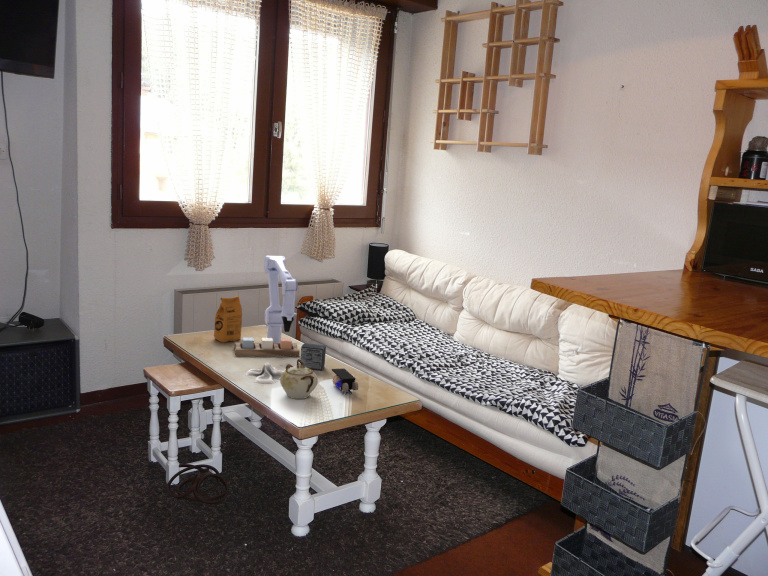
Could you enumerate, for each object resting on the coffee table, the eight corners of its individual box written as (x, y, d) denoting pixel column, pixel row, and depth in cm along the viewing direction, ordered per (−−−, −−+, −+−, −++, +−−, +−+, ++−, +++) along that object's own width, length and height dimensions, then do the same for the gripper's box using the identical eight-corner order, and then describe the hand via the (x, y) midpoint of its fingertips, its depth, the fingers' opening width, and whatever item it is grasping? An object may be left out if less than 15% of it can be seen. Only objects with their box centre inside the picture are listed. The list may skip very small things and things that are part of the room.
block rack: (234, 348, 315) (234, 342, 315) (296, 349, 323) (296, 343, 323) (235, 355, 304) (235, 349, 303) (299, 356, 312) (299, 350, 311)
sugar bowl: (269, 389, 265) (271, 354, 262) (300, 384, 274) (303, 350, 271) (294, 406, 250) (297, 369, 247) (326, 400, 259) (329, 364, 256)
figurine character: (358, 398, 269) (342, 382, 281) (360, 381, 266) (345, 366, 279) (343, 400, 265) (328, 383, 278) (345, 383, 263) (330, 367, 276)
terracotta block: (279, 346, 317) (280, 338, 317) (290, 346, 319) (290, 338, 318) (280, 349, 313) (281, 341, 312) (291, 349, 314) (291, 341, 313)
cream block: (261, 345, 315) (261, 337, 314) (271, 345, 316) (272, 338, 315) (261, 348, 310) (262, 340, 309) (272, 349, 311) (273, 340, 311)
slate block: (242, 345, 313) (242, 337, 312) (252, 345, 314) (253, 337, 313) (242, 348, 308) (243, 340, 307) (253, 348, 309) (253, 340, 308)
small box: (325, 366, 301) (326, 345, 299) (322, 371, 294) (324, 348, 292) (302, 364, 301) (304, 342, 299) (299, 368, 295) (300, 346, 293)
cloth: (261, 387, 268) (262, 373, 267) (236, 374, 281) (236, 360, 279) (303, 378, 284) (304, 364, 283) (278, 366, 296) (278, 353, 295)
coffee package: (211, 338, 328) (213, 295, 323) (231, 335, 337) (234, 293, 332) (222, 343, 321) (224, 300, 317) (243, 340, 330) (245, 297, 326)
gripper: (298, 307, 306) (296, 335, 309) (295, 301, 320) (293, 327, 322) (283, 307, 304) (281, 335, 307) (280, 300, 318) (278, 327, 320)
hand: (286, 331), depth 314 cm, fingers closed
